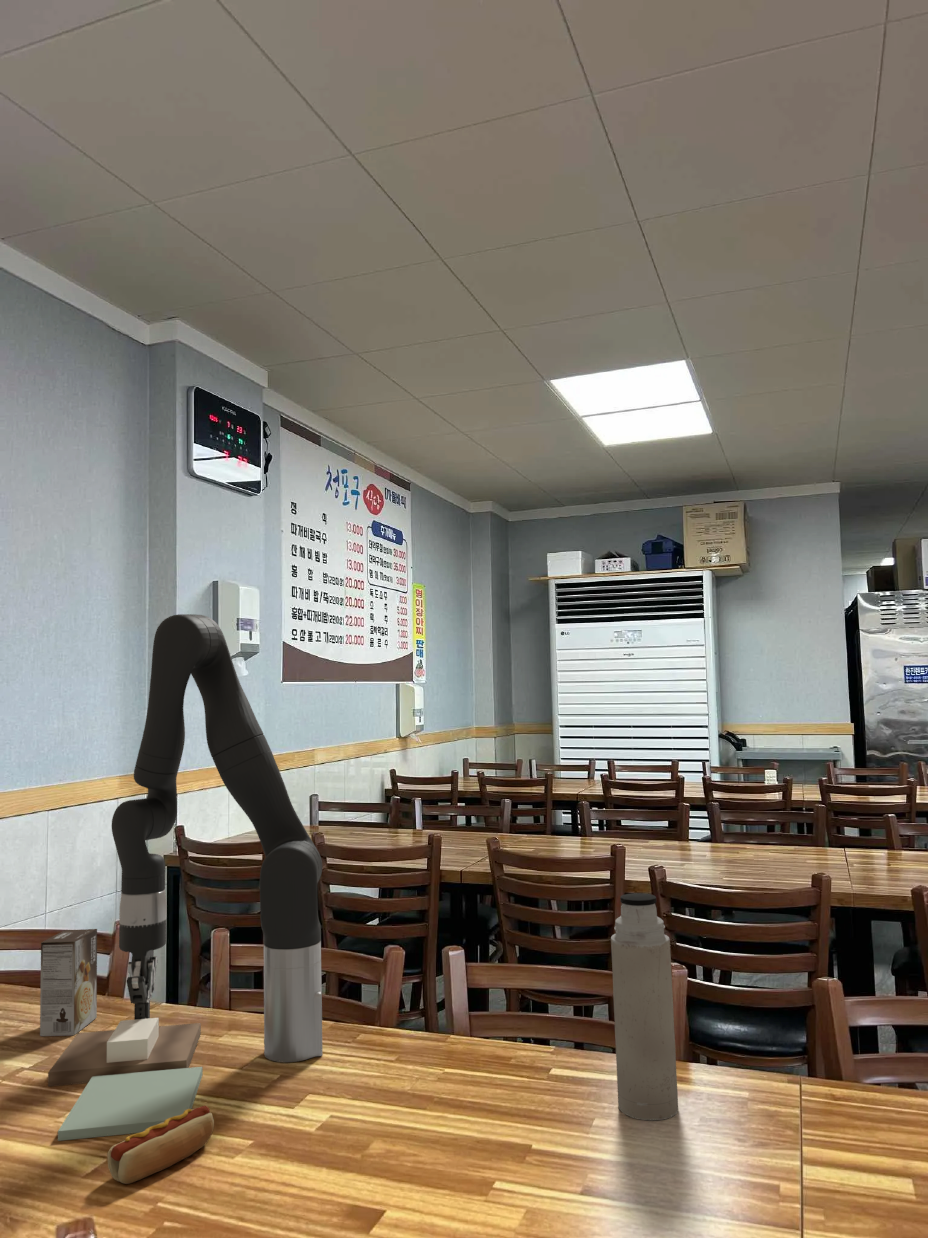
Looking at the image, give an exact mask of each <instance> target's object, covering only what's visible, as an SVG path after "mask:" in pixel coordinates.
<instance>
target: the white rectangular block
mask: <svg viewBox="0 0 928 1238" xmlns="http://www.w3.org/2000/svg"><path fill="white" fill-rule="evenodd" d="M159 1022H160V1020H159V1017H150V1018H148V1019H136V1020H134V1019H125V1020H120V1021H119V1023H118V1024H117V1026H116V1028H115V1029H113V1030H114V1032H113V1034H112V1035H111V1037H110V1038H109V1040H108V1041H107V1063H110V1062H121V1061H133V1060H144V1059H148V1057H149V1055H150V1053H151V1051H152V1049H153V1047H154V1045H155V1043H156V1041H157V1039H158V1037H159Z"/></svg>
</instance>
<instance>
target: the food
mask: <svg viewBox="0 0 928 1238" xmlns="http://www.w3.org/2000/svg"><path fill="white" fill-rule="evenodd" d="M214 1126H215V1120H214V1117H213V1113H212V1112H211V1109H210V1107H208V1106H207V1105H202V1106H199V1107H195V1108H192V1109H187V1110H185V1111H184V1113H183V1114H181V1115H178V1116H174V1117H171V1118H168V1119H166V1120H165V1121H164V1122H162V1123H160V1124H157V1125H155V1126H151V1127H149V1128H147V1129H146V1130H145V1131H143V1132H140V1133H132V1134H130V1135H129V1136H126V1137H125V1139H124V1140H123V1141H121V1142H118V1143H116V1144H113V1145H112V1146H110V1148H109V1150H108V1151H107V1168H108V1170H109V1173H110V1175H111V1177H112V1179H113V1180H115V1181H116V1182H120V1183H121V1184H126V1185H127V1184H128V1185H129V1184H133V1183H135V1182H137V1181H138V1182H139V1181H140V1180H143V1179H145V1178H147V1177H149V1176H151V1175H153V1174H155V1173H158V1172H160V1171H163V1170H165V1169H167V1168H170V1167H172V1166H173V1165H175V1164H177V1163H179V1162H181V1161H182V1160H185V1159H186V1158H188V1157H190V1156H192V1155H193V1154H194V1153H196V1152H198V1150H199V1149H200V1150H201V1148H202V1147H204V1146H205V1145H206V1144H207V1143H208V1141H209V1139H211V1136H212V1135H213V1132H214V1128H215V1127H214Z"/></svg>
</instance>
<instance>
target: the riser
mask: <svg viewBox="0 0 928 1238" xmlns="http://www.w3.org/2000/svg"><path fill="white" fill-rule="evenodd" d="M201 1026H202V1023H201V1022H199V1023H198V1022H196V1023H183V1024H171V1025H160V1026H159V1037H158V1039H157V1041H156V1043H155V1045H154V1047H153V1049H152V1051H151V1053H150V1055H149V1057H148V1059H144V1060H133V1061H121V1062H110V1063H107V1041H108V1040H109V1038H110V1037H111V1035H112V1034H113V1032H114V1030H115V1029H110V1030H100V1031H98V1030H97V1031H84V1032H78V1033H77V1034H75V1035H74V1038H73V1039H72V1040H71V1042H70V1043H69V1044H68V1046H66V1049H64V1050H63V1052H62V1054H61V1055H60V1056H59V1057H58V1059H57V1060H55V1061H56V1062H55V1063H54V1064H53V1065H52V1067H51V1068H50V1070H49V1071H47V1072H48V1073H47V1087H56V1086H68V1085H77V1084H88V1082H89V1081H90V1079H91V1078H92V1077H93V1076H104V1075H115V1074H126V1073H137V1072H148V1071H159V1070H170V1069H182V1068H190V1065H191V1063H192V1060H193V1057H194V1055H193V1054H195V1051H196V1050H197V1049H196V1048H197V1046H198V1044H199V1041H200V1038H201V1036H200V1035H202V1032H201V1031H202V1029H201V1028H202V1027H201ZM198 1040H199V1041H198ZM197 1043H198V1044H197Z"/></svg>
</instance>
